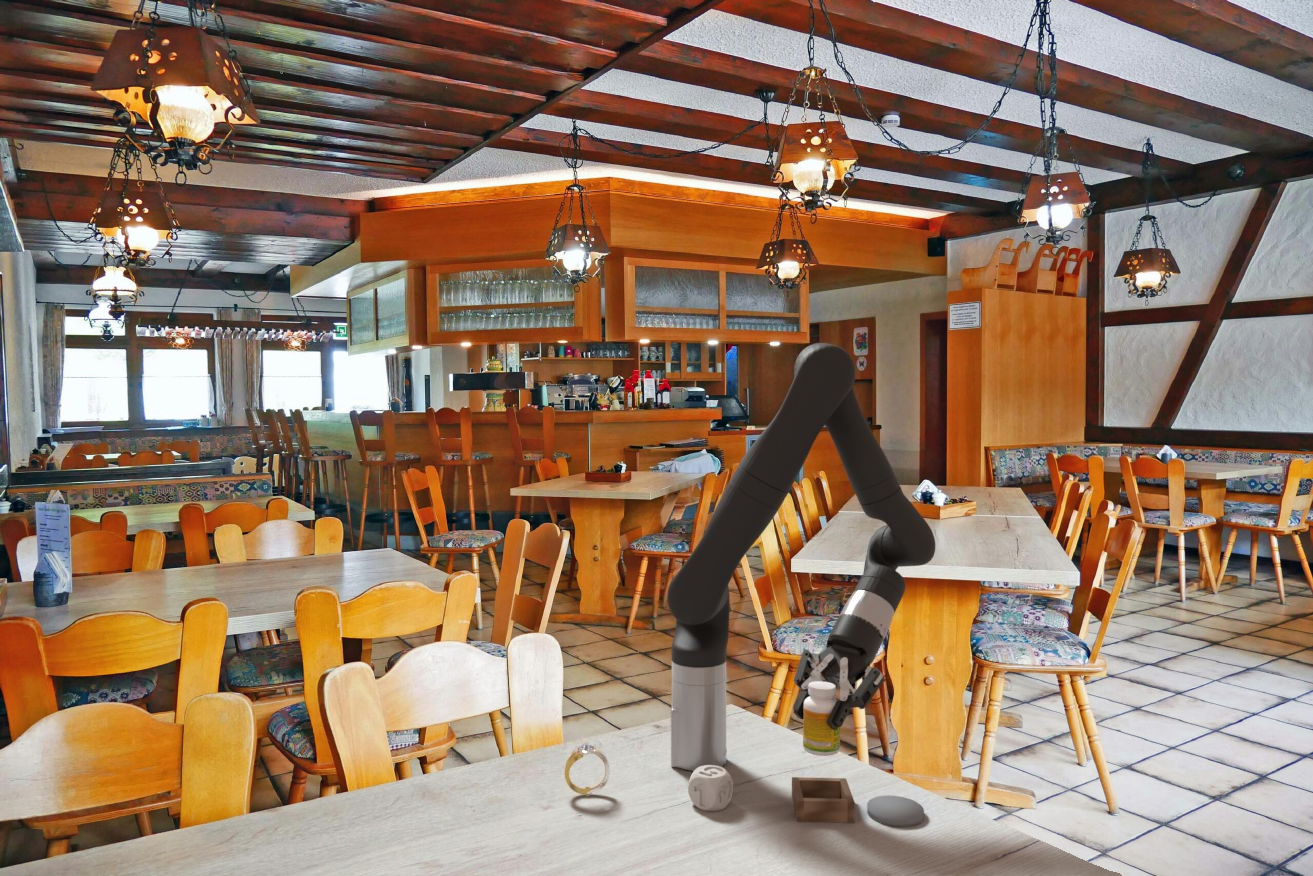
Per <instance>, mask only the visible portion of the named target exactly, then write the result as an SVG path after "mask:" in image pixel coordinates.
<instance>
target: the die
mask: <svg viewBox="0 0 1313 876" xmlns="http://www.w3.org/2000/svg"><path fill="white" fill-rule="evenodd" d="M687 786H688V787H687V792H688V795H689V798H690V799H689V800H691V803H692V804H693V805H694V806H695V807H696V808H698V809H699V810H702V811H705V812H706V811H707V812H716V811H721V810H723V809H725V808H726V807H727V806H728V805H729V804H730V803H731V802H730V801H731V799H732V796H733V793H734V792H733V791H734V781H733V778H732V776H731V774H730V773H729V771H727V769H725V768H724V767H723V766H722V767H720V766H716V765H704V766H700V767H698V768H696V769H695V770H694V771H692V774H691V775H690V778H689V781H688V785H687Z"/></svg>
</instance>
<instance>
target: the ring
mask: <svg viewBox="0 0 1313 876" xmlns="http://www.w3.org/2000/svg"><path fill="white" fill-rule="evenodd" d="M587 755H595V756H597V757H598V758H599V759H600V760H601V761H602V763H603V764H604V768H605V772H604V776H603V777H602V778H603V779H602V780H601V781H600V782H599V783H598V784H597V785H595V786H593V787H590V786H585V787H584V788H583V787H580V786H578V785H576V784H575V783H574V782H573V781H572V779H571V776H570V770H571V768H572V766H573V765H574V764H575V763H576V762H577V761H578V760H580V759H582V758H583V757H584V756H587ZM610 773H611V766H610V760H609V759H608V757H607V755H606V754H605V753H604V752H602V750H600V749H598V748H597V744H596V743H594V744H590V742H589V741H586V742H582V743H581V745H578V746H577V745H576V746H575V747H574V749H573V751H571V752H570V754H569V756H568V757H567V760H566V762H565V766H564V779H565V782H566V784H567V786H568V787H569V788H570V789H571V790H572V791H573V792H575V793H577V794H580V795H584V796H585V797H589V796H590V795H593V794H596V793H599V792H600V791H601V790H603V788H604V787H605V786H606V785H607V783H608V781H609V779H610V775H611V774H610Z"/></svg>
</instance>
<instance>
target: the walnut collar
mask: <svg viewBox="0 0 1313 876" xmlns="http://www.w3.org/2000/svg"><path fill="white" fill-rule="evenodd" d="M851 791H852V790H851V789H850V786H849V783H848V781H847V778H844V777H843V778H842V777H840V778H839V777H806V776H805V777H803V776H802V777H798V776H796V777H794V776H793V777H791V799H792V805H793V809H794V814H795V818H796V822H810V823H811V822H813V823H814V822H815V823H817V822H818V823H849V824H850V823H851V824H853V823H855V821H856V820H855V812H856V811H855V808H856V807H855V800H854V796H853V794H852V792H851Z"/></svg>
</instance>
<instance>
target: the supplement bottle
mask: <svg viewBox="0 0 1313 876" xmlns="http://www.w3.org/2000/svg"><path fill="white" fill-rule="evenodd" d="M836 686H837V685H835V684H832V683H829V682H824V681H815V682H811V683H809V688H808V692H809V695H810V696H809V697H807V698H806V699H805V701H804V715H803V719H802V723H803V724H802V726H803V728H802V731H803V732H802V747H803V750H804V751H805V752H807V753H808V754H811V755H814V756H821V757H830V756H834V755H837V754H838V753H839V752H840V750H841V748H840V747H841V727H838V729H837V730H833V729H831V728H830V727H829V725H828V724H827V720H828V718H829V716H830V714H831V712H832V710H833V708H834V706H835V704H836V701H839V700H838V699H837V698H835V697H836V696H837V687H836Z"/></svg>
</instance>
